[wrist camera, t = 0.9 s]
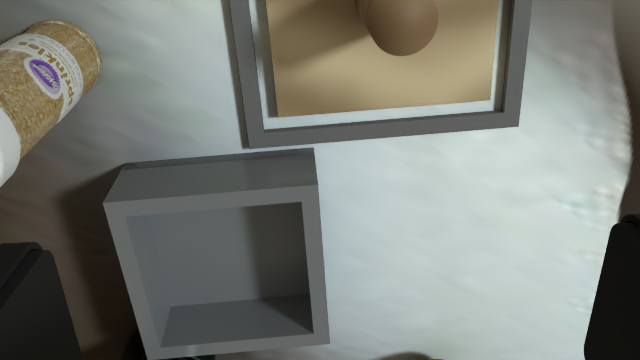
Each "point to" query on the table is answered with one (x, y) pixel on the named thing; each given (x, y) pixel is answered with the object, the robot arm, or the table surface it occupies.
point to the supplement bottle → (136, 354)
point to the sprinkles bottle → (41, 84)
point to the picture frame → (380, 127)
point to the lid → (380, 53)
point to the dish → (222, 252)
